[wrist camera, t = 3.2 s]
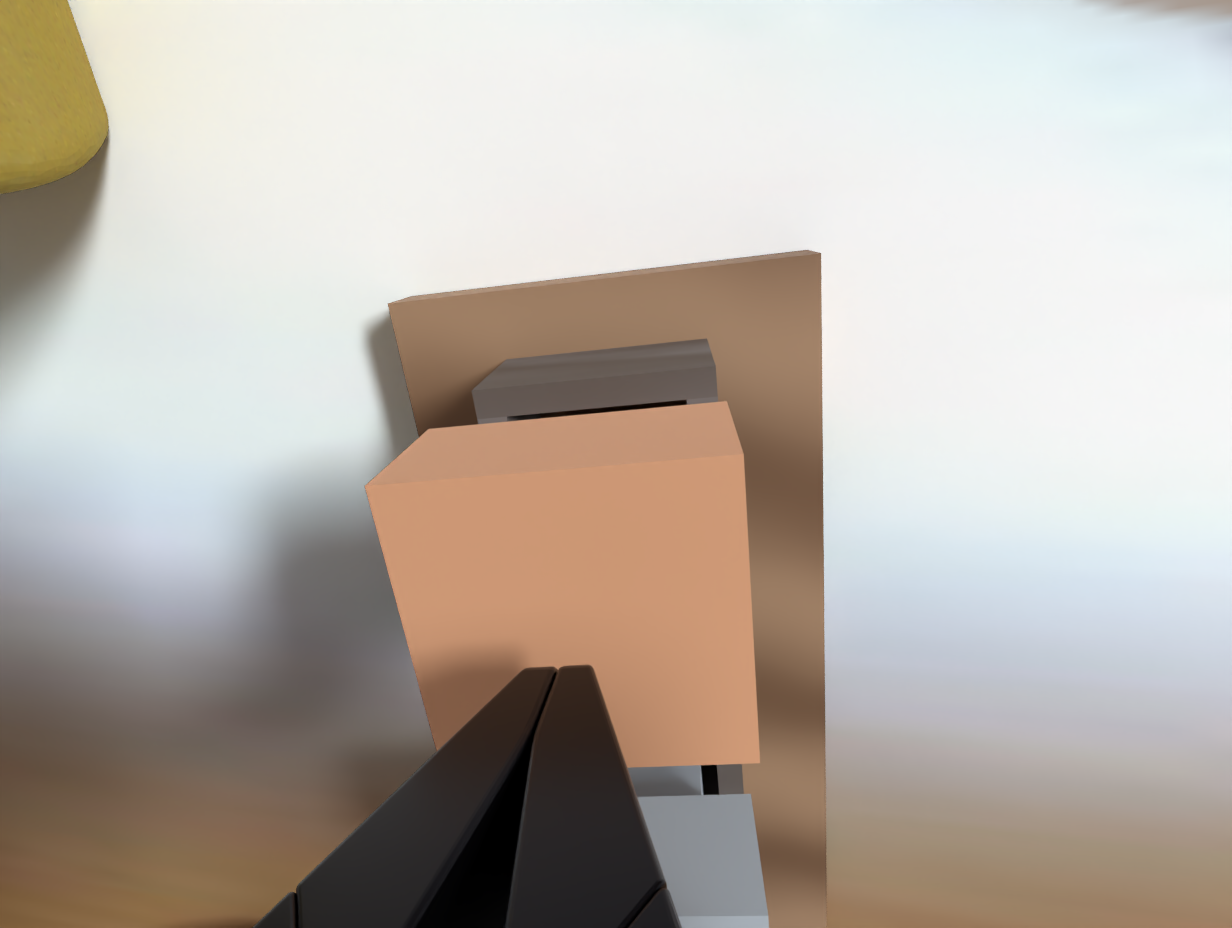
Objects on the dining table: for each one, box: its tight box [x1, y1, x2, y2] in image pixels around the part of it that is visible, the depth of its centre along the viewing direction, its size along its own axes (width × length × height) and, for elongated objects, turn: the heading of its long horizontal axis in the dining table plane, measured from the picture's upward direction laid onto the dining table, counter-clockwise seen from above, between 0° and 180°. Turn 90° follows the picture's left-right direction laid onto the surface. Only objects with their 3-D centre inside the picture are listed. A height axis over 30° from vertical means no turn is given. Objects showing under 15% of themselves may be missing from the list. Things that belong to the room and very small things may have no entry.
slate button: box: [628, 765, 769, 928], centre depth 14 cm, size 5×5×5 cm
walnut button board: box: [388, 250, 827, 928], centre depth 18 cm, size 24×10×4 cm, turn 7°
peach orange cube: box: [365, 401, 760, 768], centre depth 11 cm, size 5×5×5 cm
